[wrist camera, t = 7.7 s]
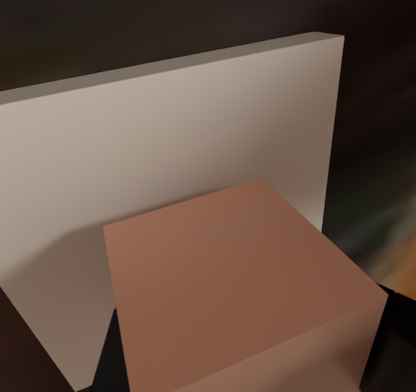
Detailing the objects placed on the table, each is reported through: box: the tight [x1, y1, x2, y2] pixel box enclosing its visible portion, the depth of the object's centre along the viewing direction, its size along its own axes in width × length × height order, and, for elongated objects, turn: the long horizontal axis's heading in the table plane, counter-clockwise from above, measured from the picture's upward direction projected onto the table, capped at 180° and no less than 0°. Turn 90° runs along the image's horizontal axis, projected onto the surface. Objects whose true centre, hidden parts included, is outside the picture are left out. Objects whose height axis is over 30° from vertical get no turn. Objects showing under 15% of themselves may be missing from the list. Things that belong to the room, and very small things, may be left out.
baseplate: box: [0, 32, 344, 392], centre depth 12 cm, size 12×12×2 cm
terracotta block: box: [103, 178, 388, 392], centre depth 9 cm, size 5×5×5 cm
